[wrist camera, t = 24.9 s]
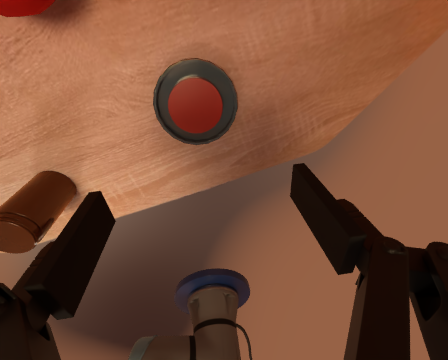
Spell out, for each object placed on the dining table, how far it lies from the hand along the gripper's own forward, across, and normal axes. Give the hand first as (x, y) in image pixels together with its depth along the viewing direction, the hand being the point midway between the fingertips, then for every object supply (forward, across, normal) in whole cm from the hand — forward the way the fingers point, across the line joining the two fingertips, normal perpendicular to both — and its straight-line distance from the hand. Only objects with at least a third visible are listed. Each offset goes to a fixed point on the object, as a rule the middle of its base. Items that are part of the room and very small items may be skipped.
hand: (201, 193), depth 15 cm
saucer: (+21, 0, +1) cm, 21 cm away
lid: (+19, 0, +1) cm, 19 cm away
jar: (+21, -26, -10) cm, 35 cm away
